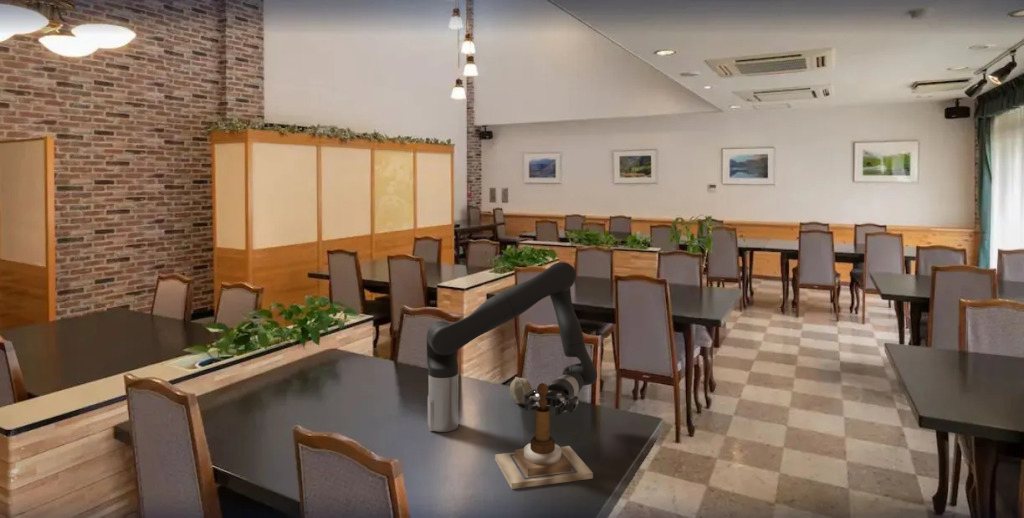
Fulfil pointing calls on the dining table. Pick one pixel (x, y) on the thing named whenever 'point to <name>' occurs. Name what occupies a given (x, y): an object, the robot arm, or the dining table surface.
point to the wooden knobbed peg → (542, 425)
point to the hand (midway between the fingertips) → (541, 409)
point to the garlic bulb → (519, 389)
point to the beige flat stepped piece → (542, 467)
